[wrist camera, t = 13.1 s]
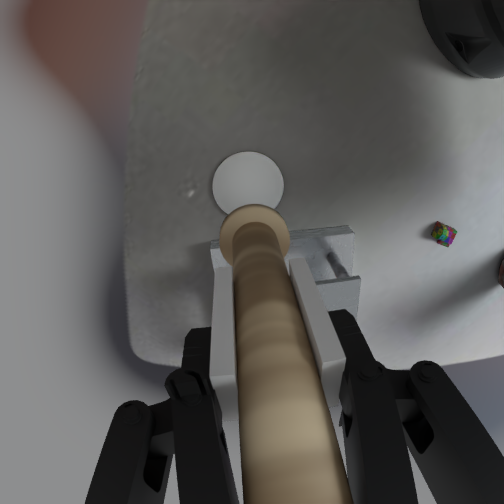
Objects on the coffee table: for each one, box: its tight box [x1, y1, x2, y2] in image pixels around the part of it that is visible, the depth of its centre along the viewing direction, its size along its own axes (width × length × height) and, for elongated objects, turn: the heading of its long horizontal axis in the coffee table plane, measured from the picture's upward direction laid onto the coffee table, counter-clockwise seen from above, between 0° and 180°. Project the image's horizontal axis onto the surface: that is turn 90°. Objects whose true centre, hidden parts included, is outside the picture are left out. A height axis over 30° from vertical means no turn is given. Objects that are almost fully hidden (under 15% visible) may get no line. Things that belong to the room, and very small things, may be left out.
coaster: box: [212, 151, 284, 215], centre depth 31 cm, size 7×7×1 cm
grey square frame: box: [210, 226, 361, 320], centre depth 33 cm, size 15×15×8 cm
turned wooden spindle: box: [219, 204, 354, 504], centre depth 13 cm, size 4×4×17 cm
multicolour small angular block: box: [431, 221, 457, 247], centre depth 34 cm, size 4×3×2 cm, turn 73°
